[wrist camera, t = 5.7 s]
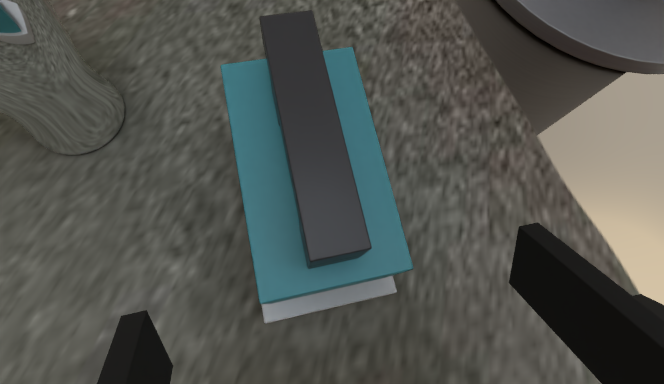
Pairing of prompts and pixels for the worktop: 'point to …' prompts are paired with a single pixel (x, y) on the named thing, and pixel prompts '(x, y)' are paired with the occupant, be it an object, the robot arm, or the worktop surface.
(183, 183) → the worktop surface
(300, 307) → the teal slab with bar
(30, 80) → the beer glass
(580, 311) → the robot arm
